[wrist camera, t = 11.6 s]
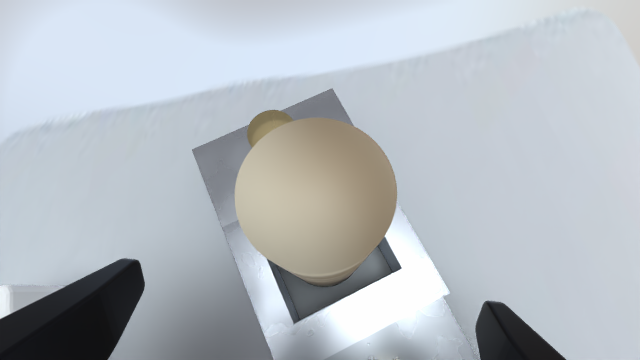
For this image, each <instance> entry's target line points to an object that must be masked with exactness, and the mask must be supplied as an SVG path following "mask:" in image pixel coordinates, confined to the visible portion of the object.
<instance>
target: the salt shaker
mask: <svg viewBox="0 0 640 360" xmlns="http://www.w3.org/2000/svg"><path fill="white" fill-rule="evenodd" d="M63 287H65V286H36V285H0V319H1V318H3V317H5V316H7V315H9V314H11V313H13V312H15V311H17V310H19V309H21V308H23V307H25V306H27V305H29V304H31V303H33V302H35V301H37V300H39V299H41V298H43V297H45V296H47V295H49V294H51V293H53V292H55V291H57V290H59V289H61V288H63Z"/></svg>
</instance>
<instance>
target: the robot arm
mask: <svg viewBox="0 0 640 360" xmlns="http://www.w3.org/2000/svg"><path fill="white" fill-rule="evenodd" d="M144 287H145V282H144V277H143V273H142V269H141V264H140V262H139V261H138V260H135V259H126V258H124V259H120V260H118V261H116V262H114V263H112V264H110V265H108V266H106V267H104V268H102V269H100V270H98V271H96V272H94V273H92V274H90V275H88V276H86V277H84V278H82V279H80V280H78V281H76V282H74V283H71V284H69V285H67V286H65V287H63V288H61V289H59V290H57V291H55V292H53V293H51V294H49V295H47V296H45V297H43V298H41V299H39V300H37V301H35V302H33V303H31V304H29V305H27V306H25V307H23V308H21V309H19V310H17V311H15V312H13V313H11V314H9V315H7V316H5V317H3V318H1V319H0V360H108V358H109V357H110V355H111V353H112V352H113V350H114V348H115V347H116V345H117V343H118V341H119V339H120V337H121V336H122V334H123V331H124V329H125V327H126V325H127V323H128V321H129V319H130V317H131V315H132V313H133V311H134V309H135V307H136V305H137V303H138V301H139V299H140V297H141V295H142V293H143V291H144ZM476 337H477V342H478V348H479V353H480V358H481V360H566V359H565V358H564V357H563V356H562V355H561V354H560V353H558V352H557V351H556V350H555V349H554V348H553V347H552V346H551V345H550V344H548V343H547V342H546V341H545V340H544V339H543V338H542V337H541V336H540V335H539V334H537V333H536V332H535V331H534V330H533V329H532V328H531V327H530V326H529V325H527V324H526V323H525V322H524V321H523V320H522V319H521V318H520V317H519V316H517V315H516V314H515V313H514V312H513V311H512V310H511V309H510V308H509V307H508V306H506V305H505V304H504V303H501V302H495V301H486V302H484V304H483V306H482V308H481V311H480V314H479V317H478V319H477V322H476Z"/></svg>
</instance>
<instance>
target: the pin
mask: <svg viewBox="0 0 640 360" xmlns="http://www.w3.org/2000/svg"><path fill="white" fill-rule="evenodd" d="M396 203H397V186H396V180H395V175H394V172H393V169H392V166H391V164H390V162H389V160H388V158H387V156H386V155H385V153H384V152H383V150H382V149H381V148H380V146H379V145H378V144H377V143H376V142H375V141H374V140H373V139H372V138H371V137H369V136H368V135H367V134H366V133H364V132H363V131H361V130H360V129H358V128H356V127H354V126H352V125H350V124H347V123H345V122H342V121H338V120H334V119H328V118H306V119H300V120H296V121H292V122H289V123H286V124H284V125H281V126H279V127H278V128H276V129H274V130H272V131H271V132H269V133H268V134H266V135H265V136H264V137H263V138H262V139H260V140H259V141H258V142H257V143H256V144H255V145H254V147H253V148H252V149H251V150H250V152H249V153H248V155H247V156H246V157H245V159H244V161H243V163H242V165H241V167H240V170H239V173H238V176H237V180H236V185H235V208H236V213H237V217H238V220H239V223H240V226H241V228H242V230H243V232H244V234H245V236H246V237H247V239H248V240H249V241H250V243H251V244H252V245H253V246H254V247H255V248H256V250H257V251H258V252H259V253H261V254H262V255H263V256H264V257H266V258H267V259H268V260H270V261H272V262H273V263H275V264H277V265H278V266H280V267H282V268H283V269H285V270H287V271H288V272H290V273H292V274H294V275H295V276H297V277H299V278H300V279H302V280H304V281H305V282H307V283H309V284H312V285H315V286H320V287H329V286H334V285H337V284H340V283H342V282H343V281H345V280H346V279H348V278H349V277H350V276H351V275H352V274H353V272H354V271H355V270H356V269H357V268H358V267H359V266H360V265H361V263H362V262H363V261H364V260H365V259H366V258H367V257H368V256H369V254H370V253H371V252H372V251H373V250H374V249H375V248H376V247H377V245H378V244H379V243H380V242H381V240H382V239H383V238H384V236H385V235H386V233H387V231H388V229H389V227H390V225H391V223H392V220H393V217H394V214H395V209H396Z"/></svg>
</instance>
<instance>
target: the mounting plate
mask: <svg viewBox="0 0 640 360" xmlns="http://www.w3.org/2000/svg"><path fill="white" fill-rule="evenodd" d="M306 118H328V119H334V120H338V121H342V122H345V123H347V124H350V125H352V126H354V125H353V124H352V122H351V120H350V118H349V117H348V115H347V113H346V111H345V110H344V108H343V106H342V104H341V103H340V101H339V99H338V97H337V96H336V94H335V92H334V90H333V89H329V90H327V91H325V92H323V93H320V94H318V95H316V96H313V97H311V98H309V99H307V100H304V101H302V102H300V103H297V104H295V105H293V106H291V107H288V108H286V109H284V110H282V111H278V110H269V111H265V112H262V113H260V114H258V115H257V116H256V117H255V118H254V119H253V120H252V121H251V122H250V124H249V125H247V126H245V127H243V128H240V129H238V130H236V131H234V132H231V133H229V134H227V135H224V136H222V137H220V138H218V139H215V140H213V141H211V142H208V143H206V144H204V145H202V146H199V147H197V148H195V149H192V151H193V154H194V156H195V159H196V162H197V164H198V167H199V169H200V172H201V174H202V177H203V180H204V182H205V185H206V187H207V190H208V192H209V195H210V198H211V200H212V203H213V205H214V208H215V210H216V213H217V216H218V218H219V221H220V223H221V226H222V228H223V231H224V233H225V236H226V239H227V241H228V244H229V246H230V249H231V251H232V254H233V257H234V259H235V262H236V264H237V267H238V269H239V272H240V275H241V277H242V280H243V282H244V285H245V287H246V290H247V293H248V295H249V298H250V300H251V303H252V305H253V308H254V310H255V313H256V316H257V318H258V321H259V323H260V326H261V328H262V331H263V334H264V336H265V339H266V341H267V344H268V346H269V349H270V352H271V354H272V357H273V359H274V360H478V358H477V356H476V354H475V352H474V351H473V349H472V347H471V345H470V344H469V342H468V340H467V338H466V337H465V335H464V333H463V331H462V330H461V328H460V326H459V324H458V322H457V321H456V319H455V317H454V315H453V314H452V312H451V310H450V308H449V307H448V305H447V303H446V301H445V300H444V298H443V296H445V295H447V294H449V293H450V292H449V290H448V289H447V287H446V285H445V284H444V282H443V280H442V278H441V277H440V275H439V273H438V271H437V270H436V268H435V266H434V264H433V263H432V261H431V259H430V257H429V256H428V254H427V252H426V250H425V249H424V247H423V245H422V244H421V242H420V240H419V238H418V237H417V235H416V233H415V231H414V230H413V228H412V226H411V224H410V223H409V221H408V219H407V217H406V216H405V214H404V212H403V210H402V209H401V207H400V205H399V204H398V202H397V203H396V209H395V214H394V217H393V220H392V223H391V225H390V227H389V229H388V231H387V233H386V235H385V236H384V238H383V239H382V240H381V242H380V243H379V244H378V246H379V248H380V249H381V251H382V253H383V255H384V257H385V259H386V261H387V263H388V265H389V266H390V268H391V270H392V273H390V274H388V275H386V276H384V277H382V278H380V279H379V280H377V281H375V282H373V283H371V284H369V285H367V286H365V287H363V288H361V289H359V290H357V291H355V292H353V293H351V294H349V295H347V296H345V297H343V298H341V299H339V300H337V301H336V302H334V303H332V304H330V305H328V306H326V307H324V308H322V309H320V310H318V311H316V312H314V313H312V314H310V315H308V316H306V317H304V318H302V319H299V317H298V315H297V312H296V310H295V308H294V305H293V303H292V301H291V298H290V296H289V294H288V291H287V289H286V287H285V284H284V282H283V280H282V277H281V275H280V273H279V270H278V268H277V265H276V264H275V263H273V262H272V261H270V260H268V259H267V258H266V257H264V256H263V255H262V254H261V253H259V252H258V251H257V250H256V248H255V247H254V246H253V245H252V244H251V243H250V241H249V240H248V239H247V237H246V236H245V234H244V232H243V230H242V228H241V226H240V223H239V220H238V217H237V213H236V208H235V185H236V180H237V176H238V173H239V170H240V167H241V165H242V163H243V161H244V159H245V157H246V156H247V155H248V153H249V152H250V150H251V149H252V148H253V147H254V145H255V144H256V143H257V142H258V141H259V140H260V139H262V138H263V137H264V136H265V135H266V134H268V133H269V132H271V131H272V130H274V129H276V128H278V127H279V126H281V125H284V124H286V123H289V122H292V121H296V120H300V119H306Z"/></svg>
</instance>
